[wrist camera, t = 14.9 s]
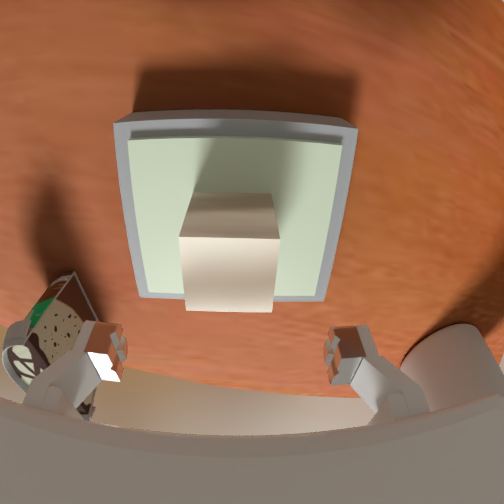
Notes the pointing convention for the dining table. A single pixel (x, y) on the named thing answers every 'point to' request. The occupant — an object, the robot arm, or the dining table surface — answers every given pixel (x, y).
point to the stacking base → (234, 187)
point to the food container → (49, 334)
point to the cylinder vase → (454, 367)
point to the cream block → (229, 252)
